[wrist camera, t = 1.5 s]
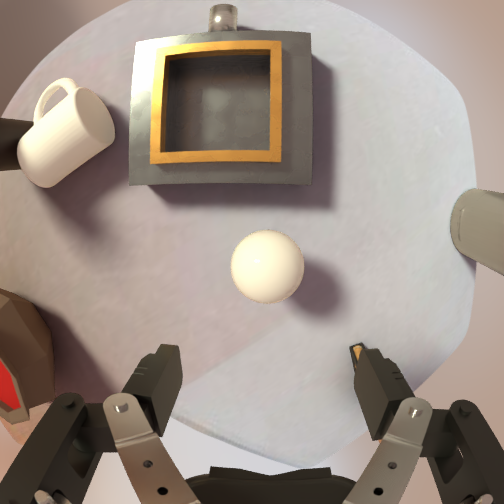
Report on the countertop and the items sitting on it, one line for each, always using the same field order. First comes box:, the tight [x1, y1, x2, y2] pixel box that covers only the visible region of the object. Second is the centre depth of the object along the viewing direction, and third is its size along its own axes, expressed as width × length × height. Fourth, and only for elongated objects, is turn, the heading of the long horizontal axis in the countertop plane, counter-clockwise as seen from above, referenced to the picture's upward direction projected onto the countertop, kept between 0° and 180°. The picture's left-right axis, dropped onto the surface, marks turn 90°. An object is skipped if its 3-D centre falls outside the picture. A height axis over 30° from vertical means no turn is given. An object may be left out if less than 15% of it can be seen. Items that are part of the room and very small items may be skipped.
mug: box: [17, 78, 115, 188], centre depth 27 cm, size 12×10×8 cm
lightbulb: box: [231, 230, 304, 304], centre depth 28 cm, size 6×6×11 cm
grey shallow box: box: [129, 4, 313, 186], centre depth 26 cm, size 18×20×6 cm
